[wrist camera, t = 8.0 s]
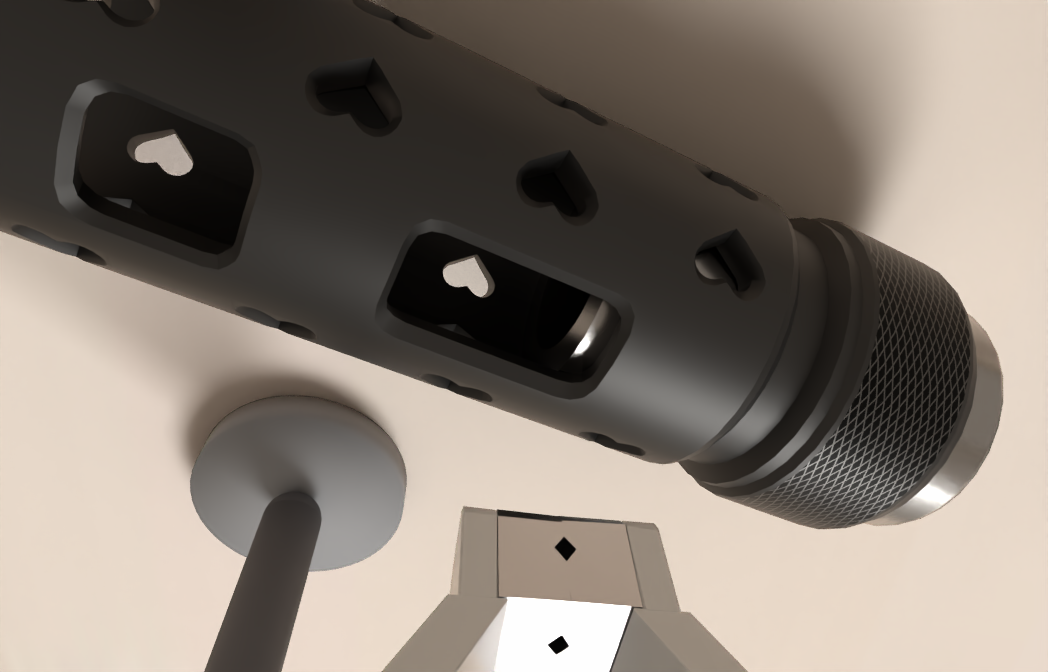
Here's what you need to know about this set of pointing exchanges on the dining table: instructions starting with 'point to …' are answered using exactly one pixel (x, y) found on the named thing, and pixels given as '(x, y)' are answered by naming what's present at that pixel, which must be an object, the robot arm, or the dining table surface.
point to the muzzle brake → (493, 246)
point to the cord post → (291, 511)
